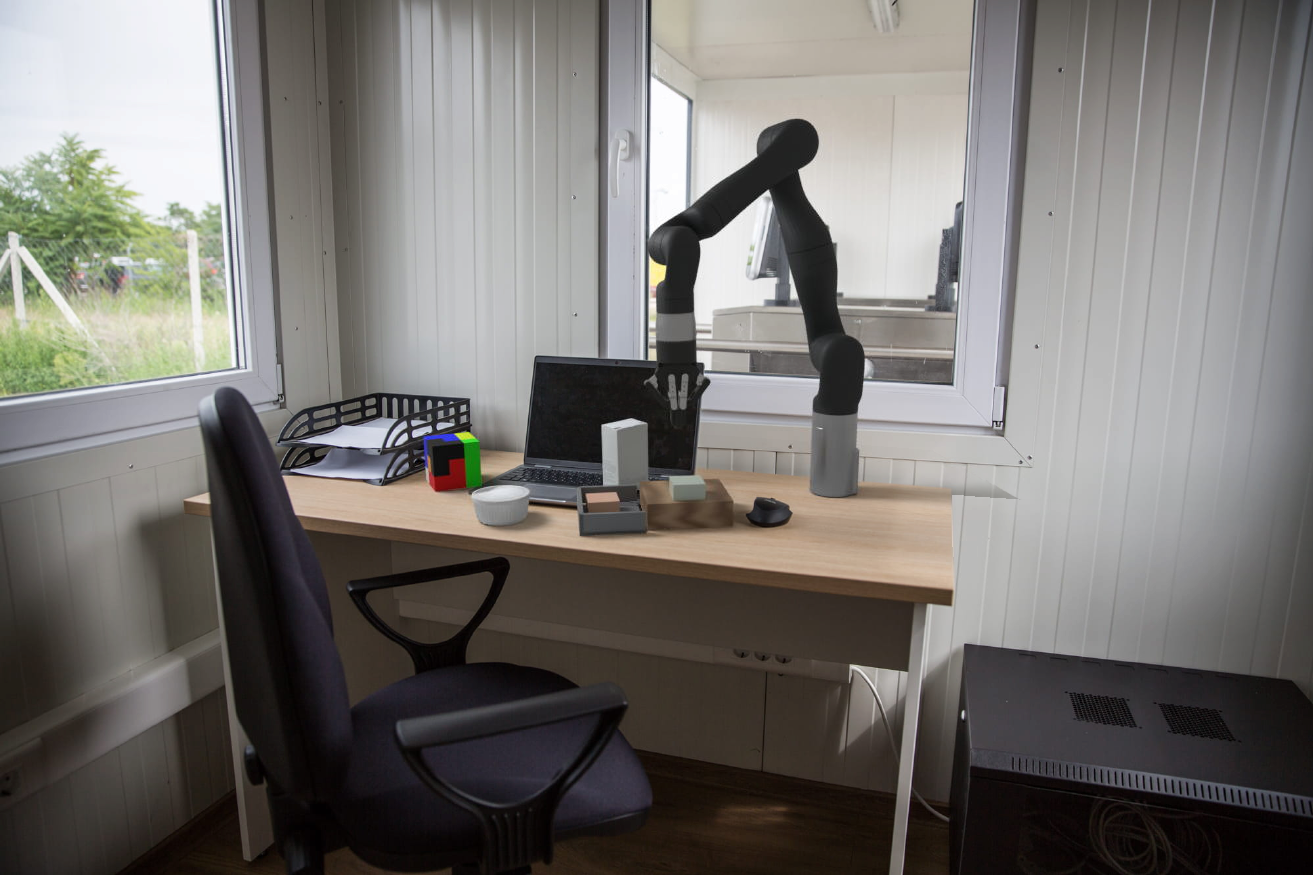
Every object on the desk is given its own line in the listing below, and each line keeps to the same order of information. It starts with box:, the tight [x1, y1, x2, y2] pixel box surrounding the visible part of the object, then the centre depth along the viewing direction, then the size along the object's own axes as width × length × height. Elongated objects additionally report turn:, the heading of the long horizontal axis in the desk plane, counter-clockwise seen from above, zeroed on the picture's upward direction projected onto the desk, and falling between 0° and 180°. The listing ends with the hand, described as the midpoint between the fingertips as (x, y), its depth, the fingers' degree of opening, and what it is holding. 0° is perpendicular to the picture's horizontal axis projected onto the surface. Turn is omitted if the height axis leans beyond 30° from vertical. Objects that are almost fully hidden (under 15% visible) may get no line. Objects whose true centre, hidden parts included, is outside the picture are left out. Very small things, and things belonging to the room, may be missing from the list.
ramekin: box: [471, 484, 531, 527], centre depth 167 cm, size 11×11×5 cm
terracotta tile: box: [586, 492, 620, 513], centre depth 169 cm, size 6×6×3 cm
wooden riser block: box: [639, 478, 735, 531], centre depth 168 cm, size 16×15×5 cm
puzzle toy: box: [423, 431, 483, 493], centre depth 190 cm, size 10×10×10 cm
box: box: [576, 484, 647, 537], centre depth 167 cm, size 12×18×4 cm, turn 6°
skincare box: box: [601, 418, 649, 490], centre depth 183 cm, size 8×6×15 cm
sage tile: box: [668, 474, 706, 501], centre depth 164 cm, size 6×6×3 cm
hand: (678, 427), depth 166 cm, fingers closed
